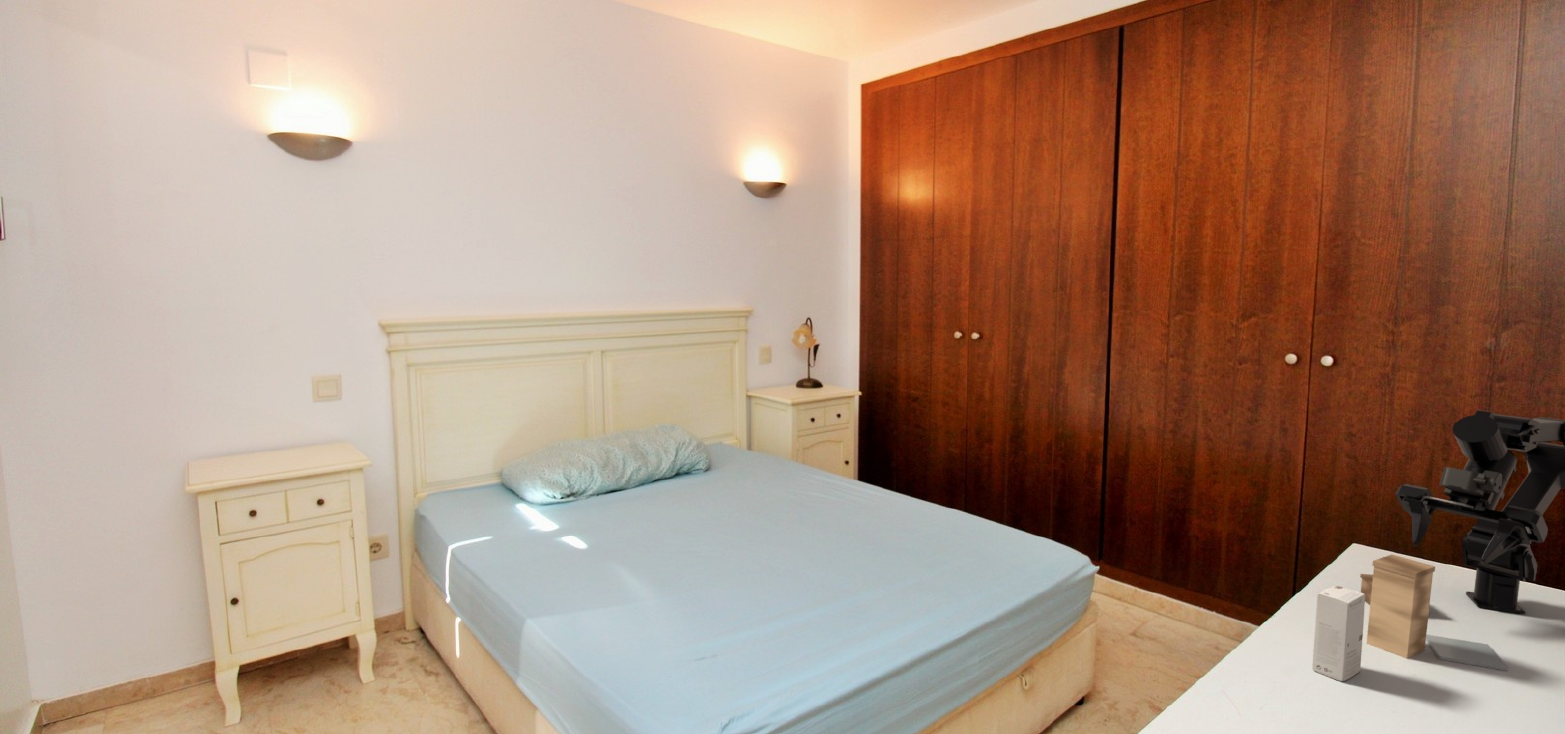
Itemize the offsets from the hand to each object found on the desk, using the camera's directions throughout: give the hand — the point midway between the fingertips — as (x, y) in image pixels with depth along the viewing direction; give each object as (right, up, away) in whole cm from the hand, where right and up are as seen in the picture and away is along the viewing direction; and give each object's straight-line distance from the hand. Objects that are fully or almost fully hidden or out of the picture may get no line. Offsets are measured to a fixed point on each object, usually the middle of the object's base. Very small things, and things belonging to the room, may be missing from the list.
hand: (1447, 553), depth 126 cm
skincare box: (-27, -15, -11) cm, 33 cm away
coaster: (-3, -14, -6) cm, 16 cm away
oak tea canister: (-12, -14, -4) cm, 19 cm away
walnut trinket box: (-1, -12, +11) cm, 16 cm away
